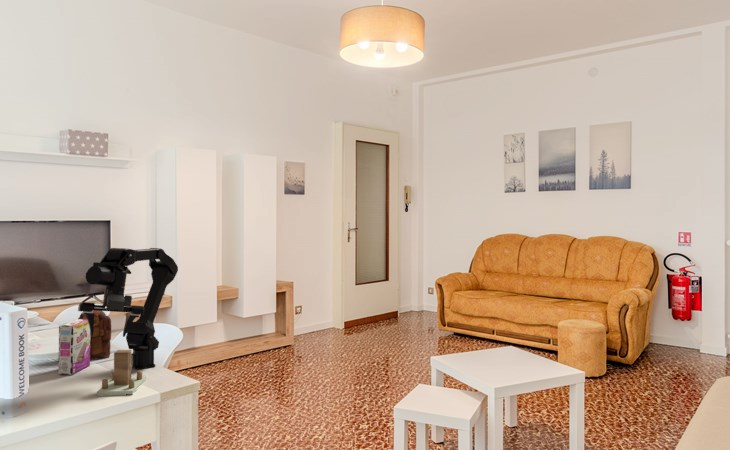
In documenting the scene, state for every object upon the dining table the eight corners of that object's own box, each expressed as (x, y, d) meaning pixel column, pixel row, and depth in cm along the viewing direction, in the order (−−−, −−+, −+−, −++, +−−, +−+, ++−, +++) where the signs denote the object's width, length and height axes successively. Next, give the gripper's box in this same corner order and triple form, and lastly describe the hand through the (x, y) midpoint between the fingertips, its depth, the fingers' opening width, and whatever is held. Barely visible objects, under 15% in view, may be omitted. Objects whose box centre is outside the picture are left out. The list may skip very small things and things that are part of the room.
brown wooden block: (117, 381, 165) (117, 349, 165) (131, 381, 166) (131, 349, 165) (114, 385, 162) (114, 353, 161) (127, 385, 162) (127, 352, 162)
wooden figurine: (73, 361, 190) (73, 311, 190) (77, 356, 196) (77, 307, 196) (110, 358, 194) (110, 309, 193) (112, 354, 200) (112, 306, 199)
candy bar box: (72, 375, 174) (72, 325, 174) (57, 375, 174) (57, 325, 174) (91, 365, 185) (91, 318, 185) (77, 365, 186) (77, 318, 185)
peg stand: (113, 380, 170) (113, 368, 170) (146, 379, 171) (146, 368, 171) (96, 395, 156) (97, 383, 156) (132, 394, 157) (132, 382, 157)
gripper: (85, 283, 159) (77, 336, 157) (150, 289, 169) (144, 339, 166) (81, 284, 169) (74, 334, 166) (143, 289, 178) (137, 336, 176)
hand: (108, 336), depth 168 cm, fingers open, 9 cm apart
